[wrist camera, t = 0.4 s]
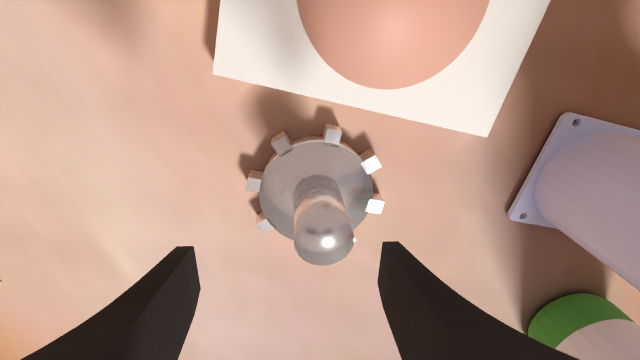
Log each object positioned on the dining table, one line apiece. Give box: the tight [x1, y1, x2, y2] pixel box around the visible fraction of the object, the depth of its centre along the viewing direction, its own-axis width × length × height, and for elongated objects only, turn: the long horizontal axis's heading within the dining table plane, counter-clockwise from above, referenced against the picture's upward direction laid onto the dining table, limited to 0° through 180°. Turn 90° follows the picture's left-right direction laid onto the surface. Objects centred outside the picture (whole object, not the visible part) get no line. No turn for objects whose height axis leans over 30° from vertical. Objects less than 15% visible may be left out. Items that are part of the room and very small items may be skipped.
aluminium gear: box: [246, 123, 384, 265], centre depth 19 cm, size 9×9×6 cm
